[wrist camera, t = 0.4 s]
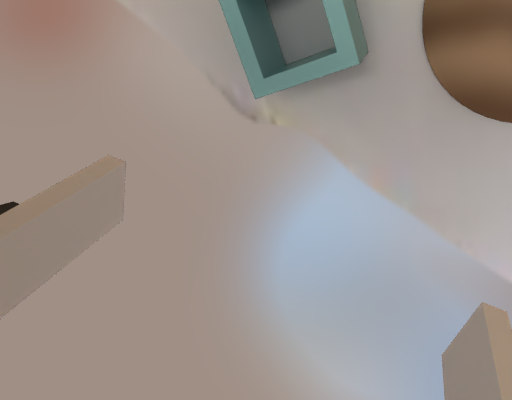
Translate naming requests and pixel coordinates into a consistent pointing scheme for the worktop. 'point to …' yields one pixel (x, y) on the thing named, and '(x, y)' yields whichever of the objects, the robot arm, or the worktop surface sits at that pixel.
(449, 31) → the post stand
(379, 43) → the worktop surface
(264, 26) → the collar
